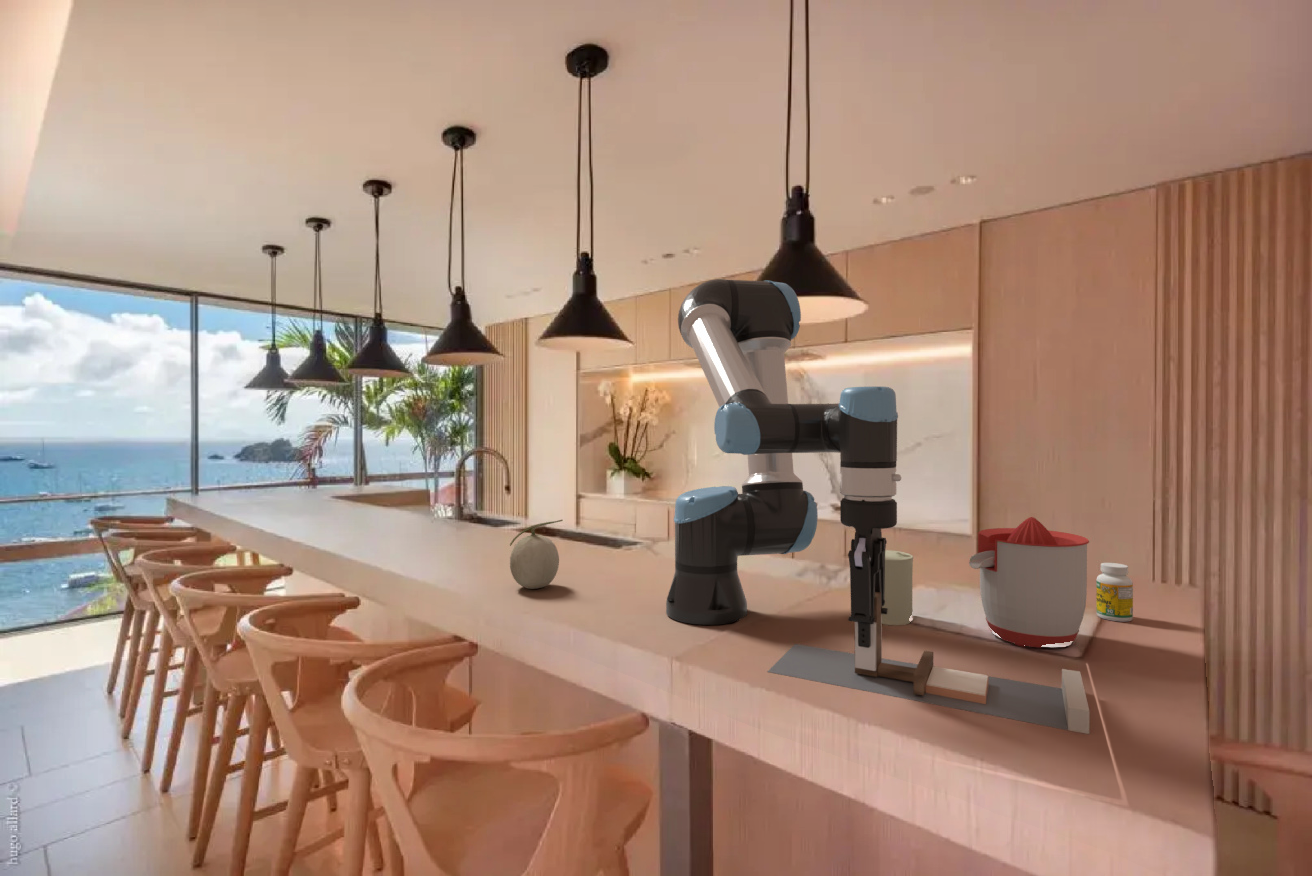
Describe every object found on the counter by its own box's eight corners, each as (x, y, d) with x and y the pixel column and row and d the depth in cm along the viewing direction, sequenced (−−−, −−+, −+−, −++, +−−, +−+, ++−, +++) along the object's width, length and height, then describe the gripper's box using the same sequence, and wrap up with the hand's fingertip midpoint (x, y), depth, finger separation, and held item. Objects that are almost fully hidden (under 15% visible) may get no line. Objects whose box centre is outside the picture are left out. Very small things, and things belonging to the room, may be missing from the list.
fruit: (497, 588, 140) (496, 519, 140) (543, 579, 148) (542, 514, 147) (522, 597, 132) (521, 525, 132) (569, 587, 140) (568, 519, 140)
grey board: (767, 674, 91) (767, 653, 91) (795, 646, 102) (795, 627, 102) (1089, 737, 72) (1089, 710, 72) (1079, 694, 84) (1080, 671, 84)
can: (918, 626, 112) (918, 558, 111) (862, 623, 114) (862, 556, 113) (908, 611, 121) (908, 547, 120) (857, 609, 123) (857, 546, 122)
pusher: (848, 681, 87) (848, 600, 87) (865, 658, 95) (864, 584, 95) (923, 695, 82) (923, 609, 82) (933, 669, 91) (933, 591, 91)
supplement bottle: (1140, 622, 113) (1140, 568, 113) (1110, 622, 113) (1111, 568, 113) (1117, 613, 119) (1117, 561, 118) (1089, 613, 118) (1089, 561, 118)
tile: (925, 692, 84) (925, 683, 84) (932, 674, 90) (932, 665, 90) (985, 704, 80) (985, 694, 80) (988, 684, 86) (988, 675, 86)
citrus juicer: (951, 623, 113) (951, 510, 113) (1051, 623, 113) (1052, 510, 112) (995, 655, 98) (996, 524, 97) (1111, 655, 97) (1113, 524, 97)
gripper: (885, 505, 81) (885, 689, 81) (906, 493, 95) (906, 650, 95) (825, 502, 85) (826, 678, 85) (854, 490, 99) (854, 642, 99)
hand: (868, 663), depth 90 cm, fingers closed on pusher, 3 cm apart
